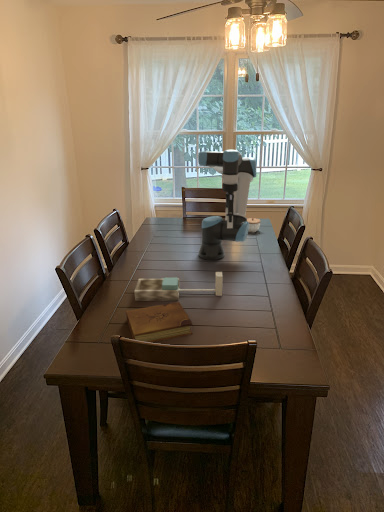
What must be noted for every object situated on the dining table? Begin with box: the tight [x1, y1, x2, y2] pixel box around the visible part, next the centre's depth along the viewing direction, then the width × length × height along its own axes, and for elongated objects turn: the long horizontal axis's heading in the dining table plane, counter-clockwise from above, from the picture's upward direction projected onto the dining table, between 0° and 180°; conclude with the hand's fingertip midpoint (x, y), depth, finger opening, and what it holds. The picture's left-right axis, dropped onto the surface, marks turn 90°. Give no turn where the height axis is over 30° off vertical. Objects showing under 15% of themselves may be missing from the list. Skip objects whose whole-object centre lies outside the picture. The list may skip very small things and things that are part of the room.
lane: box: [134, 278, 181, 302], centre depth 178 cm, size 20×13×5 cm, turn 89°
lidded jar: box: [247, 217, 261, 233], centre depth 262 cm, size 11×11×9 cm
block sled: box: [162, 271, 223, 297], centre depth 177 cm, size 28×8×10 cm, turn 89°
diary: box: [125, 301, 193, 343], centre depth 152 cm, size 23×19×6 cm
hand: (228, 223), depth 192 cm, fingers open, 13 cm apart
